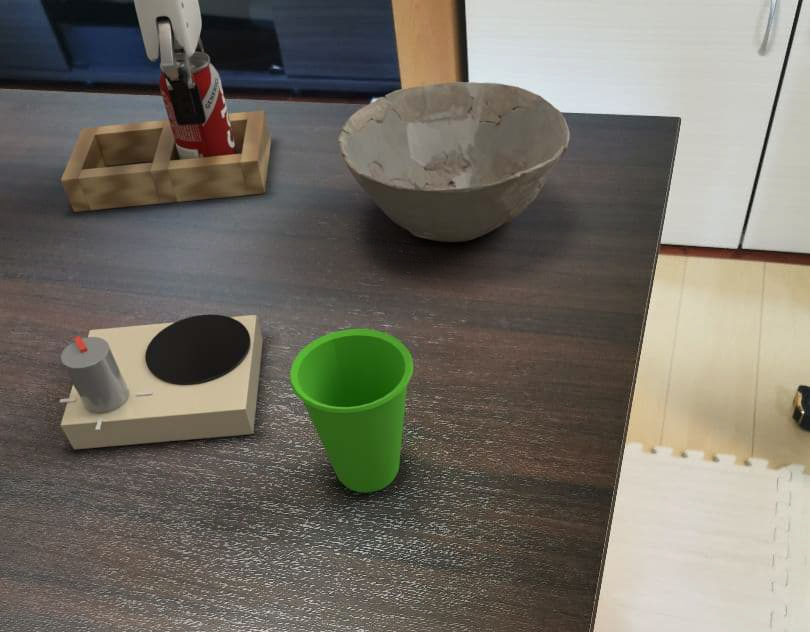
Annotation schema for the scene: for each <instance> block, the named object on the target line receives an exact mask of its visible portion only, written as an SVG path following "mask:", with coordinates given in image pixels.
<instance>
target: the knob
mask: <svg viewBox="0 0 810 632" xmlns="http://www.w3.org/2000/svg"><path fill="white" fill-rule="evenodd" d="M60 362H61V363H62V365H63V367H64V369H65V372H66V373H67V375H68V378H69V379H70V381H71V383H72V386H73V385H74V387H75V389H76V391H77V393H78V395H79V397H80V399H81V401H82V403H83V404H84V406H85V408H86V409H87V410H89V411H91V412H95V413H105V412H109V411H112V410H114V409H117V408H118V407H120V406H121V405H122V404H124V402H125V401H126V400H127V398H128V396H129V389H128V387H127V385H126V382H125V380H124V378H123V376H122V373H121V371H120V369H119V367H118V364H117V362H116V360H115V358H114V355H113V353H112V351H111V349H110V346H109V344H108V343H107V341H105V340H104V339H102V338H99V337H88V336H87V337H81V336H80V335H78V336H75V337H73V341H72V342H71V343H70V344H68V345H66V347H65V348H64V349H63V350H62V352H61V354H60Z"/></svg>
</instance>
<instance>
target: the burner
mask: <svg viewBox="0 0 810 632" xmlns="http://www.w3.org/2000/svg"><path fill="white" fill-rule="evenodd" d="M230 317H231V316H227V315H223V314H198V315H194V316H189V317H185V318H182V319H179V320H177V321H174V322H175V323H173V324H171V325H169V326H168V327H166V328H164V329H163V330H162V331H160V332H159V333H158V334H157V335H156V336H155V337H154V338H153V339H152V341H151V342H150V343H149V345H148V347H147V350H146V354H145V361H146V364H147V367H148V369H149V371H150V372H151V373H152V374H153V375H154V376H155V377H157V378H158V379H160V380H162V381H164V382H167V383H171V384H177V385H194V384H201V383H206V382H209V381H212V380H215V379H218V378H220V377H222V376H224V375H226V374H228V373H229V372H231V371H232V370H234V369H235V368H236V367H238V366H239V365H240V364H241V363H242V362H243V360H244V359H245V358H246V356H247V354H248V352H249V350H250V346H251V339H250V335H249V332H248V330H247V329H246V327H245V326H244V325H243V324H242V323H240V322H239V321H237V320H235V319H233V318H230Z"/></svg>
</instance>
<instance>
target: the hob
mask: <svg viewBox="0 0 810 632" xmlns="http://www.w3.org/2000/svg"><path fill="white" fill-rule="evenodd" d="M229 317H230V318H233V319H235V320H237V321H239V322H240V323H242V324H243V325H244V326H245V327H246V329H247V330H248V332H249V335H250V339H251V346H250V350H249V352H248V354H247V356H246V358H245V359H244V360H243V362H242V363H241V364H240V365H239V366H238V367H236V368H235V369H234V370H232V371H231V372H229V373H228V374H226V375H224V376H222V377H220V378H218V379H215V380H212V381H209V382H206V383H201V384H194V385H177V384H171V383H167V382H164V381H162V380H160V379H158V378H157V377H155V376H154V375H153V374H152V373H151V372H150V371H149V369H148V367H147V364H146V361H145V354H146V350H147V347H148V345H149V343H150V342H151V341H152V339H153V338H154V337H155V336H156V335H157V334H158V333H159V332H160V331H162V330H163V329H164V328H166V327H168V326H169V325H171V324H173V323H175V322H176V321H174V322H172V321H171V322H162V323H152V324H141V325H130V326H120V327H119V326H118V327H107V328H97V329H90V330H89V332H88V335H87V337H99V338H102V339H104V340H105V341H107V343H108V344H109V346H110V349H111V351H112V353H113V355H114V358H115V360H116V362H117V364H118V367H119V369H120V371H121V373H122V376H123V378H124V380H125V382H126V385H127V387H128V389H129V396H128V398H127V400H126V401H125V402H124V404H122V405H121V406H120V407H118V408H117V409H114V410H112V411H109V412H105V413H95V412H91V411H89V410H87V409H86V408H85V406H84V404H83V403H82V401H81V399H80V397H79V395H78V393H77V391H76V389H75V387H74V385H73V384H72V387H71V390H70V393H69V396H68V398H60V399H59V403H60V404H66V405H65V409H64V412H63V416H62V419H61V422H60V427H61V429H62V431H63V433H64V434H65V436H66V438H67V440H68V442H69V444H70V445H71V447H72V448H73V450H84V449H85V450H86V449H94V448H109V447H120V446H129V445H142V444H154V443H165V442H177V441H187V440H188V441H189V440H190V441H191V440H200V439H210V438H211V439H212V438H224V437H234V436H235V437H237V436H246V435H247V436H248V435H253V434H254V432H255V431H254V430H255V420H256V411H257V400H258V391H259V382H260V371H261V362H262V352H263V343H264V338H263V335H262V331H261V327H260V323H259V319H258V316H257V314H250V315H239V316H238V315H237V316H229Z"/></svg>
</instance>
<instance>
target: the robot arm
mask: <svg viewBox="0 0 810 632" xmlns="http://www.w3.org/2000/svg"><path fill="white" fill-rule="evenodd" d="M133 2H134V7H135V12H136V16H137V20H138V24H139V28H140V32H141V37H142V41H143V44H144V48H145V53H146V56H147V58H148V59H149V60H150V61H151V62H157V60H158V59H159V58H160V63H161V64H162V68H163V70H164V73H165V78H166V83H167V87H168V91H169V95H170V98H171V102H172V106H173V109H174V113H175V117H176V121H177V123H178V125H181V126H182V125H194V124H204V123H205V121H206V116H205V112H204V108H203V104H202V100H201V96H200V91H199V87H198V84H194V78H193V72H192V65H191V59H190V58H191V57H192V55H193V54H194V53H195V51H199V52H203V53H205V50H204V44H203V41H202V39H201V36H200V35H201V31H202V28H203V27H202V23H203V22H202V21H203V20H202V16H201V8H200V4H199V0H133ZM176 50H177V53H180V52H184V54H178V55H175V54H176ZM177 62H184V66H185V72H186V74H185V72H184V70H183V69H182V67H178V64H177Z"/></svg>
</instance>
